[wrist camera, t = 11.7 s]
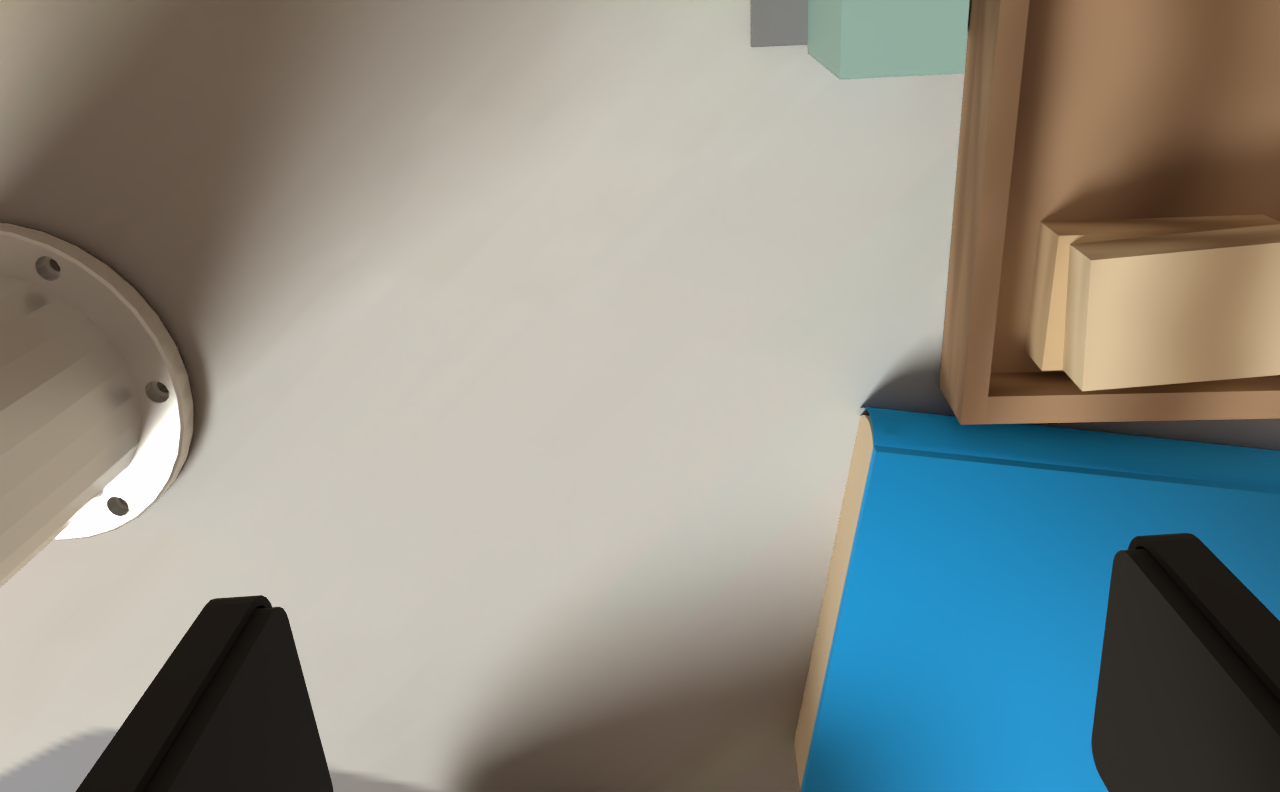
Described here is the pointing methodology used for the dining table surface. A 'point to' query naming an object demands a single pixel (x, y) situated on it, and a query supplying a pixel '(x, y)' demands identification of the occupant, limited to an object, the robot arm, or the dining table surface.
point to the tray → (1099, 177)
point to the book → (999, 594)
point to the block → (888, 37)
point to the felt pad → (779, 22)
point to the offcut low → (1054, 263)
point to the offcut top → (1173, 308)
